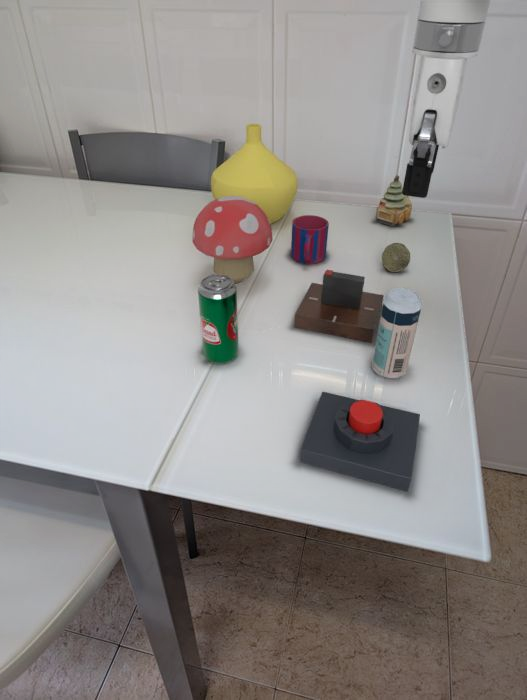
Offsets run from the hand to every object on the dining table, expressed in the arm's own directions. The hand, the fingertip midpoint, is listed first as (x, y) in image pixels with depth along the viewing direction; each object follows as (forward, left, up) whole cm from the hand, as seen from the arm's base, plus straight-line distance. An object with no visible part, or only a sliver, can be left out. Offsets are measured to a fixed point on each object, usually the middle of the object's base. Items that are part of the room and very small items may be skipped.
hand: (418, 183), depth 69 cm
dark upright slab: (+8, +6, -18) cm, 20 cm away
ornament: (+5, -35, -21) cm, 41 cm away
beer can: (-1, +17, -21) cm, 26 cm away
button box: (0, +31, -20) cm, 37 cm away
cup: (+18, -11, -21) cm, 29 cm away
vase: (+34, -26, -21) cm, 47 cm away
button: (0, +31, -17) cm, 35 cm away
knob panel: (+8, +6, -20) cm, 23 cm away
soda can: (+22, +21, -21) cm, 37 cm away
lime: (+2, -13, -21) cm, 24 cm away
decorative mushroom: (+28, +1, -21) cm, 35 cm away
